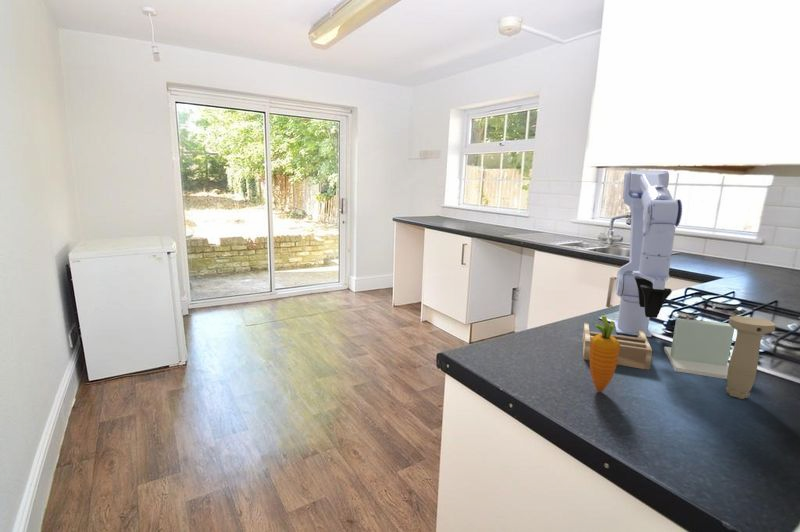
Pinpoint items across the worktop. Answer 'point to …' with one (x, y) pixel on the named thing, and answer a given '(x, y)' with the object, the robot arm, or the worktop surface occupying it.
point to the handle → (745, 353)
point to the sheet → (702, 341)
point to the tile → (697, 367)
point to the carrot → (603, 355)
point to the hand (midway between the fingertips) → (647, 311)
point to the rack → (624, 349)
